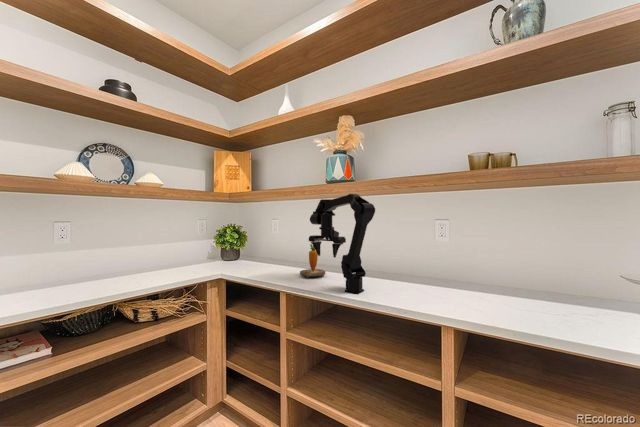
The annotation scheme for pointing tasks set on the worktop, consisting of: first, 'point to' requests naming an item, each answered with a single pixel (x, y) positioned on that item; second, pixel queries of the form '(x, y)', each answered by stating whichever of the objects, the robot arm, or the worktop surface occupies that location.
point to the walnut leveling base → (312, 273)
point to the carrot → (313, 258)
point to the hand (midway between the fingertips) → (326, 256)
